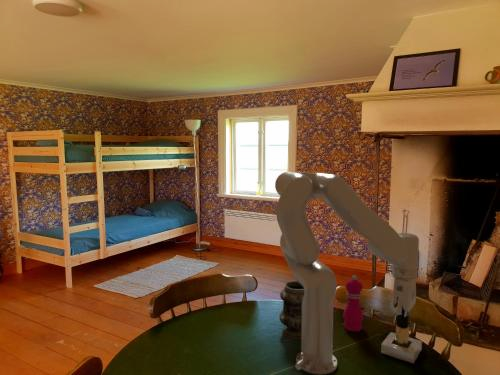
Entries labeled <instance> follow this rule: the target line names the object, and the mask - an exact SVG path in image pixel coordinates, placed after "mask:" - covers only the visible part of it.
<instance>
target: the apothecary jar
mask: <svg viewBox="0 0 500 375" xmlns="http://www.w3.org/2000/svg"><path fill="white" fill-rule="evenodd" d="M279 294H280V295H279V296H280V299H281V300H282V301H283V302H282V303H283V307H282V310H281V311H280V313H279V321H280V323H282V325H283V326H284V327H283V328H282V331H281V332H282V334H283V336H284V337H287V338H289V339H293V340H301V330H302V301H303V297H304V287H303V286H302V285H301V284H300V283H299V282H298V281H297V280H290V281H287V282H285V284H284V288H283V289H281V291H280V292H279Z"/></svg>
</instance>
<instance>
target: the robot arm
mask: <svg viewBox="0 0 500 375" xmlns="http://www.w3.org/2000/svg"><path fill="white" fill-rule="evenodd" d="M274 188H275V191H276V193H277V194H278V195H279V199H278V202H277V206H276V210H275V213H276V214H275V216H276V221H277V225H278V227H279V229H280V232H281V236H280V239H279V245H280V249H281V251H282V254H283V256H284V258H285V260H286V263H287V265H288V267H289V269H290V272H291V273H292V274H291V275H293V277H294V279H295V281H298V282H299V283H300V284H301V285H302V286H303V287H304V297H303V301H302V330H301V339H300V340H301V341H300V343H301V345H300V347H301V350H300V351H299V352H298V353H297V354H296V358H295V364H294V365H295V366H294V367H295V369H296V370H297V371H301V370H302V371H304V372H306V373H308V374H312V375H327V374H331V373H333V372H335V370H336V369H337V368H338V359H337V357H336V356H335V355H334V354H333V343H334V342H333V341H334V340H333V339H334V338H333V337H334V335H333V334H334V303H335V296H336V292H337V287H338V286H337V282H338V281H337V277H336V275H335V273H334V271H333V270H332V269H331V268H330V266H327V265H326V264H325V263H323V262H322V261H320V260H319V257H320V250H321V249H320V245H319V243H318V240H317V238H316V236H315V234H314V232H313V229H312V227H311V224H310V223H309V220H308V217H307V214H306V213H307V212H306V209H307V205H308V203H309V202H310V200H312V199H314V200H322V201H324V202H325V203H326V204H327V205H328V206H329V208H330V209H331V210H332V211H333V212H334V213H335V214H336V215H337V216H338V217H339V218H340V220H341V221H342V222H343V223H344V224H345V225H346V226H348V227H349V228H350V229H351V230H352V231H354V232H356V233H357V234H359V235H361V236H362V237H364V238H365V239H367V240H366V248H367V249H368V251H369V252H370V253H371V254H372V255H374V256H375V257H377V258H379V259H381V260H384V261H386V262H388V263H390V264H391V265H392V266H391V267H392V269H391V270H392V272H391V276H392V277H393V278H394V282H393V292H392V307H393V308H394V309H396V325H397V326H398V327H401V328H405V329H407V327H409V320H410V319H409V318H410V315H409V314H410V310H412V308H414V306H415V304H416V303H417V281H416V280H417V279H418V274H419V272H418V271H419V270H418V269H419V249H420V248H419V247H420V239H419V237H418V236H417V235H416V234H414V233H409V232H397V231H396V230H395V229H394V228H393V227H392V225H390V224H389V223H388V222H387V221H385V219H383V218H382V217H381V216H380V215H378V214H377V213H376V212H375V211H374V210H373V209H371V208H370V207H369V206H368V205H367V204H366V203H365V202H364V201H363V200H362V198H361V196H359V194H357V192H356V191H355V190H354V189H353V188H352V187H351V186H350V184H348V182H347V181H346V180H345V179H344V178H343V177H342V176H340V175H338V174H334V173H333V174H332V173H327V172H306V171H304V172H303V171H302V172H301V171H284V172H282V173H281V174H279V175H278V176H277V178H276V179H275V184H274Z"/></svg>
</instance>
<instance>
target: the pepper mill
mask: <svg viewBox="0 0 500 375" xmlns="http://www.w3.org/2000/svg"><path fill="white" fill-rule="evenodd" d="M345 289H346V291H347V292H346V296H347V304H346V305H345V308H344V310H343V313H342V318H343V319H344V324H343V326H344V328H345V329H346V330H347V331H349V332H360V331H362V326H363V325H362V322H363V320H364V313H363V310H362V309H361V305H360V298H361V295H362V293H361V292H362V291H363V284H362V281H361V280H359V279H358V277H357V275H356V274H355V275H352V276H351V278H350V279H348V280H347V281H346V283H345Z"/></svg>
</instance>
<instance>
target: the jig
mask: <svg viewBox="0 0 500 375" xmlns="http://www.w3.org/2000/svg"><path fill="white" fill-rule="evenodd" d="M395 336H396V332H392V331H391V332H390V333H389V334H388V335H387V336H386V337H385V339H384V340H383V341H382V342H381V344H380V346H381V347H380V353H381V354H383V355H387V356H390V357H393V358H396V359H399V360H401V361H405V362H408V363H411V364H415V362H416V360H417V358H418V356H419V355H420V352H422V346H423V345H422V344H423V341H422V340H419V339H416V338H413V337H410V336H409V341H408V348H405V347H401V346H398V345H395Z"/></svg>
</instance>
